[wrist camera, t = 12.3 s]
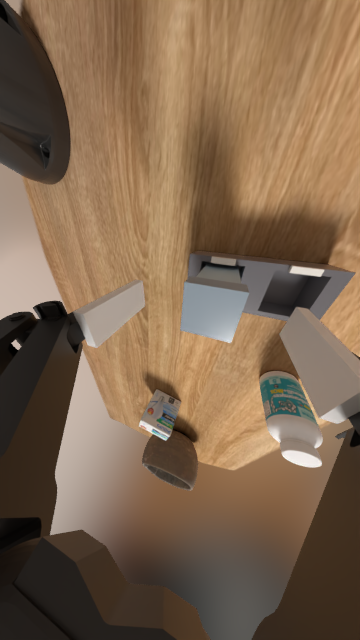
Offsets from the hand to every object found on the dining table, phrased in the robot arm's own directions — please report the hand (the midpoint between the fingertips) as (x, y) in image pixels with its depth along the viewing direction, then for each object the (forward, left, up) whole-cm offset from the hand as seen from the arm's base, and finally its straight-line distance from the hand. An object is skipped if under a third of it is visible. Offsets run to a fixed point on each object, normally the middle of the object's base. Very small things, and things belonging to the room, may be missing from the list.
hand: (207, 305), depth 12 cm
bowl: (+79, -3, -14) cm, 81 cm away
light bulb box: (+48, -9, -14) cm, 51 cm away
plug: (0, 0, -12) cm, 12 cm away
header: (0, +5, -13) cm, 14 cm away
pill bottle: (+21, +18, -14) cm, 31 cm away
